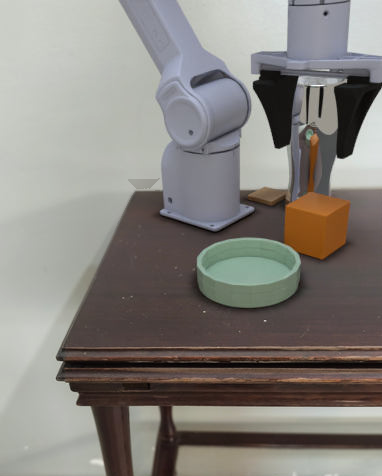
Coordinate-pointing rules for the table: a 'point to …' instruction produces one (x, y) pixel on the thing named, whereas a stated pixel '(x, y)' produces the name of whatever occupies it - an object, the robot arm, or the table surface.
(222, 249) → the celadon bowl
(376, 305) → the table surface
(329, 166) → the beer glass
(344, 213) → the orange cube
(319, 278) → the table surface
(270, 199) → the cork coaster
